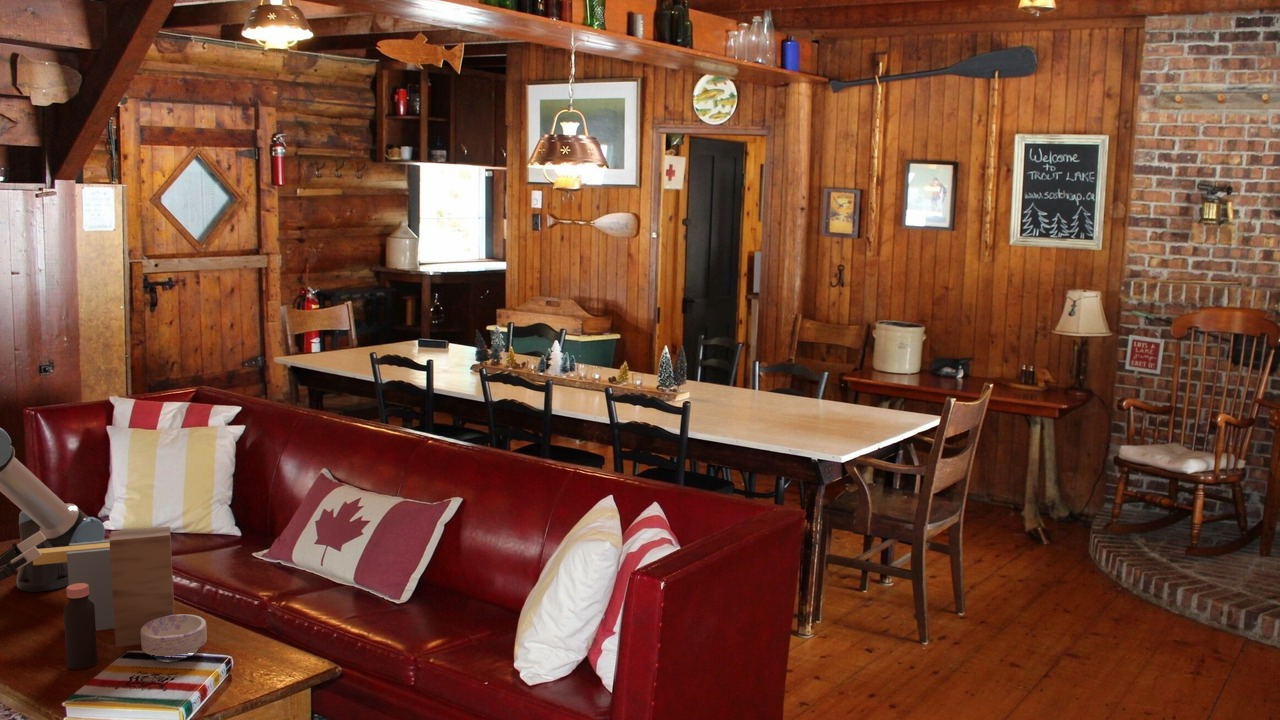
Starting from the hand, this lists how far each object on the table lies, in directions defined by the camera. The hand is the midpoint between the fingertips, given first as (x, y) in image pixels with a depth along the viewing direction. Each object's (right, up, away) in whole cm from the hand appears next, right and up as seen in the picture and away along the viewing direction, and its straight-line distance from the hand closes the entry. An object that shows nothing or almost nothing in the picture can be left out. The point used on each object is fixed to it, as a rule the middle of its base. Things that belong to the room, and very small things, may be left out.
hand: (40, 542), depth 304 cm
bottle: (+19, -27, -17) cm, 37 cm away
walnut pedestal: (+27, -25, 0) cm, 37 cm away
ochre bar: (+9, -5, +5) cm, 11 cm away
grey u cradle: (+13, -23, +9) cm, 28 cm away
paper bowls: (+39, -27, -11) cm, 48 cm away
